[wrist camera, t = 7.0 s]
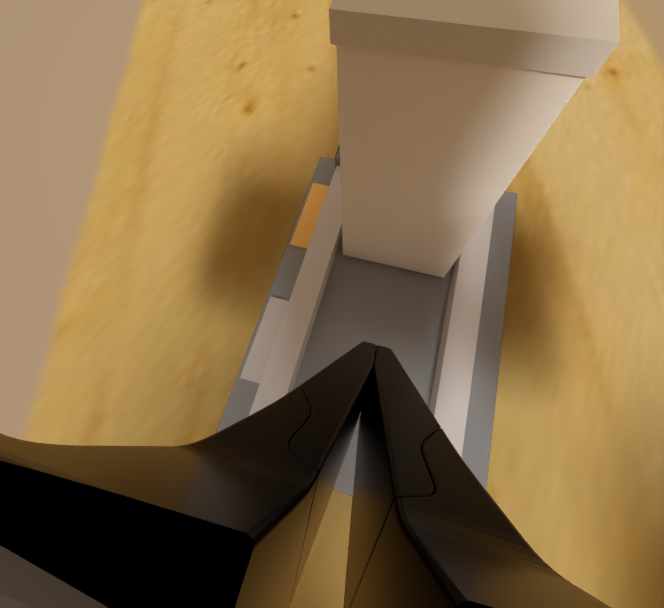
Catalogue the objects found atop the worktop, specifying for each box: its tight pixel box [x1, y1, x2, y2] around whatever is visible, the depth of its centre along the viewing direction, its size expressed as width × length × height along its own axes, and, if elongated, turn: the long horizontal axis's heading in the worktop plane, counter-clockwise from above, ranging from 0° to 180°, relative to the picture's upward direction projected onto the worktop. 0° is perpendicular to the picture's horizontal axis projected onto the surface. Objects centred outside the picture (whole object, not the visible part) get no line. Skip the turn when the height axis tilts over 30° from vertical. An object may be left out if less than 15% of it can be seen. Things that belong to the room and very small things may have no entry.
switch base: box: [216, 144, 517, 496], centre depth 14 cm, size 16×11×3 cm
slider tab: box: [329, 0, 620, 278], centre depth 11 cm, size 4×5×10 cm
